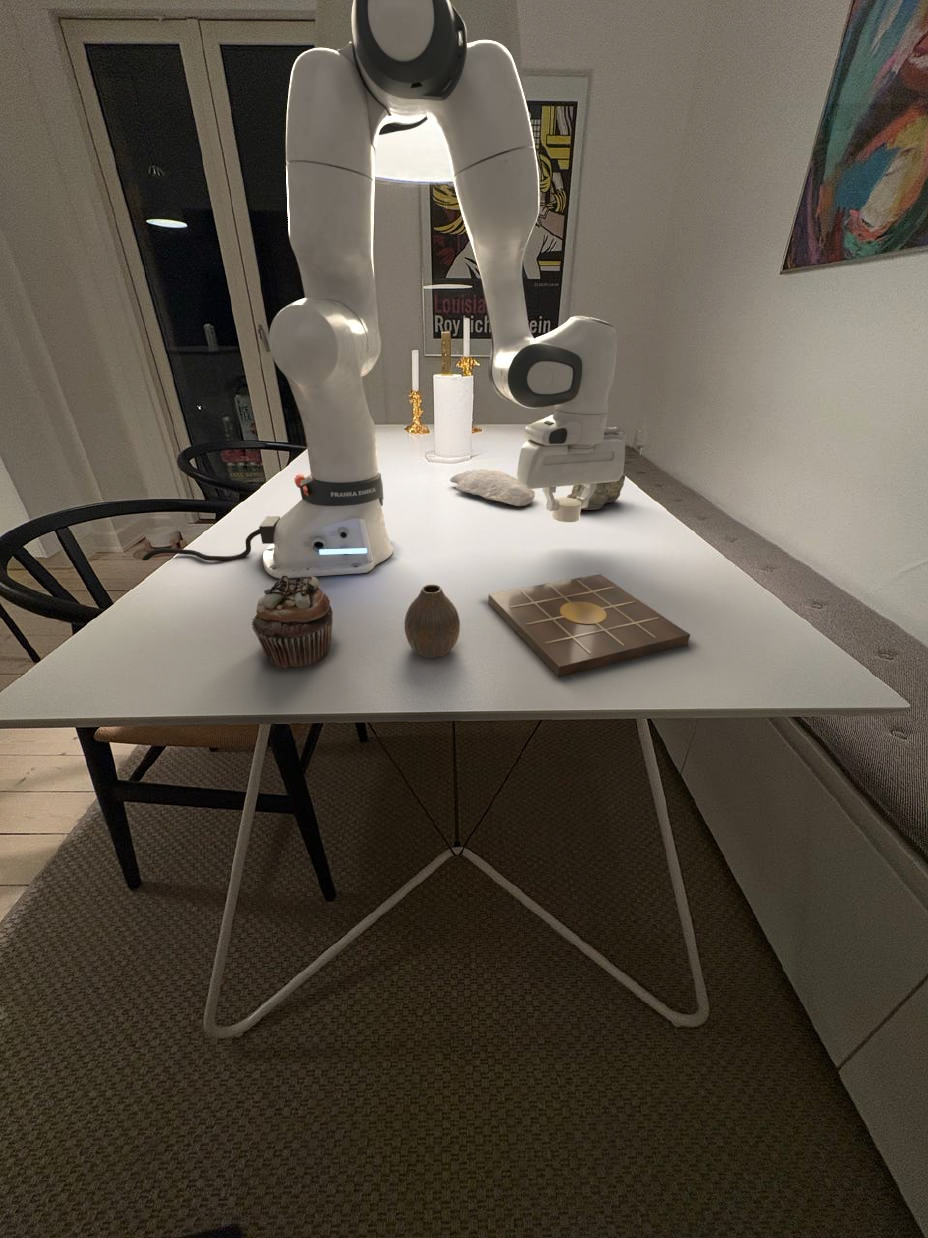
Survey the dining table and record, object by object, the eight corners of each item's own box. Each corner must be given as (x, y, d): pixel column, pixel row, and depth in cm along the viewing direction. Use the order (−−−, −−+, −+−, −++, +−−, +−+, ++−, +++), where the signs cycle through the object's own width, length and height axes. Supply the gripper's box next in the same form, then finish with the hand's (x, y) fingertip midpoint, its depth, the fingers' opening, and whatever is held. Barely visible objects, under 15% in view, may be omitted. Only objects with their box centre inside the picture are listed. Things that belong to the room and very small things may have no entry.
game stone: (561, 523, 91) (563, 507, 89) (546, 514, 95) (548, 498, 93) (584, 520, 93) (587, 504, 91) (569, 512, 97) (571, 496, 95)
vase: (416, 670, 62) (413, 606, 57) (399, 641, 67) (395, 581, 63) (468, 657, 64) (469, 596, 60) (447, 631, 70) (447, 572, 65)
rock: (592, 474, 125) (631, 470, 119) (595, 501, 128) (633, 499, 121) (554, 485, 114) (595, 481, 107) (557, 515, 116) (597, 513, 109)
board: (558, 677, 61) (559, 666, 60) (488, 602, 77) (488, 593, 76) (687, 644, 68) (690, 633, 67) (598, 582, 83) (600, 573, 83)
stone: (438, 489, 130) (504, 514, 113) (437, 467, 127) (505, 490, 110) (484, 477, 138) (553, 499, 122) (485, 456, 136) (555, 476, 119)
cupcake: (337, 627, 70) (328, 560, 65) (336, 668, 62) (326, 594, 57) (264, 634, 68) (249, 565, 63) (253, 676, 60) (235, 602, 55)
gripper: (616, 423, 92) (603, 498, 99) (516, 427, 85) (509, 508, 92) (639, 429, 87) (623, 508, 94) (535, 434, 80) (526, 519, 87)
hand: (566, 508), depth 93 cm, fingers closed on game stone, 5 cm apart
